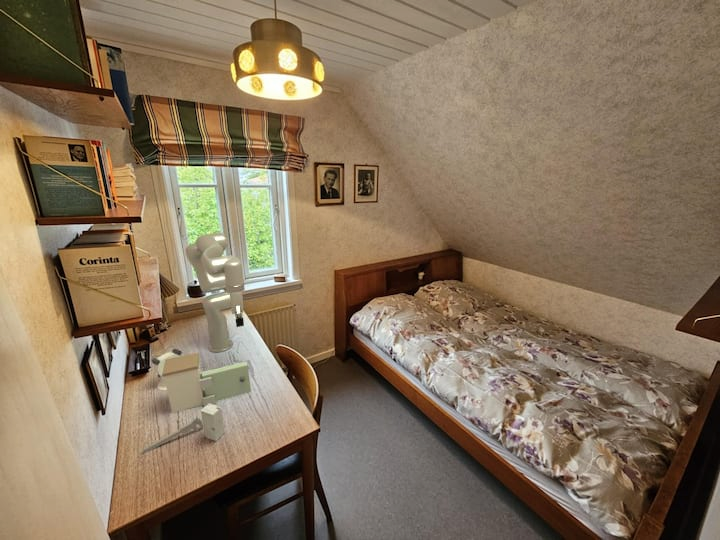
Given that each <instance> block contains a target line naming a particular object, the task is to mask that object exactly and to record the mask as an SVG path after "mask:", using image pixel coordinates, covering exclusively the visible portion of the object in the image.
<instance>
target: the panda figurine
mask: <svg viewBox="0 0 720 540" xmlns="http://www.w3.org/2000/svg"><path fill="white" fill-rule="evenodd" d="M179 356H182V351H181V350H180V349H177V348H173V349H172V351H169V352H166V353H164V354H161V355H160V356H158V357H157V358H156V357H155V358H152V359H151V363H152V364H153V370H154V372H155V374H157V377H158V378H159V379H160V381H158V383H157V389H158V390H159V391H162V392H167V389H166V384H165V380H164V377H163V376H162V372H163V368H164V364H165V360H166V359H170V358H175V357H179Z"/></svg>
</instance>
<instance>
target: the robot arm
mask: <svg viewBox="0 0 720 540" xmlns="http://www.w3.org/2000/svg"><path fill="white" fill-rule="evenodd" d="M228 245H229V242H228V238H227V236H226V235H225V234H224V233H222V232H214V233H213V232H212V233H206V234H201V235H199V236H198V237H197V238H196V240H195V243H192V244H191V243H190V244H188V245H187V246H186V247H185V255H186V258H187V260H188V262H189V264H191V266H192V269H194V271H195V275H196V278H197V281H198V284H199V287H200V290H201V292H203V293H205V294H209V293H210V294H209V295H207V296H205V297H203V299H202V301H201V302H202V306H203V310H204V312H205V316H206V317H205V318H206V321H207V327H208V332H209V338H210V344H209V345H208V351H210V352H212V353H222V352H223V353H224V352H226V351H228V350H230V349H231V348H232V347H233V346H234V341H233V340H232V339H230V333H229V329H228V328H229V327H228V320H227V317H226V315H225V313H223V312H221V311H223V310H225V309H231V314H232V315H234V316H235V327H237V328H238V327H239V328H240V327H244V326H245V324H244V323H245V322H244V316H243V315H244V314H243V313H244V299H243V298H244V297H243V292H244V291H245V289H246V288H245V281H244V280H245V279H244V273H243V272H244V271H243V263H242V261H241V260H240V259H239V258H238V257H237V256H236V255H234V254H231V255H230V254H229V255H225V256H223V254H224V252H225V251H226V249H227V248H228ZM221 290H223V291H221ZM218 291H221V292H218ZM215 292H216V293H215ZM211 293H212V294H211Z"/></svg>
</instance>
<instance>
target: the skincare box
mask: <svg viewBox="0 0 720 540" xmlns="http://www.w3.org/2000/svg"><path fill="white" fill-rule="evenodd" d="M222 411H223V409H222V407H221V406H218V405H216V404H210V403H209V404H208V405H207V406H205V407H204V406H203V408H202V409H201V410H200V414H201V421H202V424H203V429H202V430H203V433H204V434H203V435H204V437H205V438H207V439H209V440H211V441H215V442H217V441H218V440H219V439H220V438H221V437H222V436H223V435H224V434H225V429H224V428H225V427H224V419H223V412H222Z"/></svg>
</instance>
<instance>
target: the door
mask: <svg viewBox="0 0 720 540" xmlns="http://www.w3.org/2000/svg"><path fill="white" fill-rule="evenodd" d="M204 371H205V372H203V371H201V372H202V378H203V379H205V378H209V377H211V378H212V383H213V386H212V387H208V388H205V394H206V397H207V396H211V395H215V400H216V402H219V401H221V400H226V399H229V398H232V397H236V396H239V395H244V394H247V393H250V392H251V393H252V387H251V386H252V385H251V380H250V373H249V365H248V361H244V362H239V363H235V364H230V365H227V366H223V367H218V368H215V369H209V371H208V370H204Z"/></svg>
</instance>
